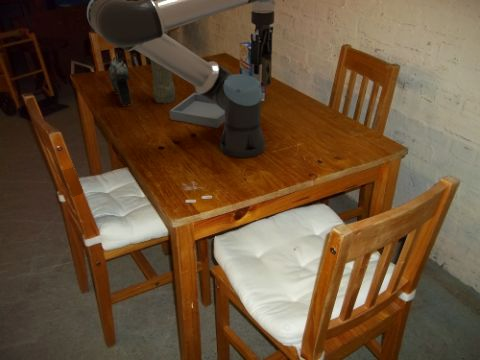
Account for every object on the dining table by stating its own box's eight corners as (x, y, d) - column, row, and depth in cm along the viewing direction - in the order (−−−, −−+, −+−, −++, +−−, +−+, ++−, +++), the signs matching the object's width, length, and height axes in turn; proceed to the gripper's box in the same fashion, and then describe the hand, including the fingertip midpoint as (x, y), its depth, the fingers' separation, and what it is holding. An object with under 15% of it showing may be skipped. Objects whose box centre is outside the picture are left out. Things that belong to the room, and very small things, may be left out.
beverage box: (253, 91, 183) (254, 41, 171) (265, 100, 175) (267, 47, 163) (239, 94, 181) (239, 42, 169) (251, 103, 172) (251, 49, 160)
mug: (274, 84, 147) (275, 50, 140) (261, 87, 144) (262, 53, 138) (261, 78, 152) (262, 45, 146) (249, 80, 150) (249, 47, 143)
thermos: (162, 106, 169) (153, 16, 150) (148, 98, 177) (138, 11, 158) (181, 101, 174) (174, 13, 154) (167, 93, 181) (158, 8, 162)
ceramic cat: (134, 106, 169) (127, 57, 158) (118, 109, 167) (110, 59, 156) (124, 90, 184) (117, 44, 174) (109, 92, 182) (101, 46, 171)
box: (217, 128, 153) (217, 119, 151) (170, 119, 159) (169, 110, 157) (238, 108, 168) (238, 99, 166) (194, 100, 174) (194, 92, 172)
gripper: (262, 17, 126) (259, 90, 139) (284, 6, 140) (280, 73, 153) (239, 14, 129) (239, 86, 142) (263, 4, 143) (261, 70, 155)
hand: (260, 79), depth 147 cm, fingers closed on mug, 5 cm apart
